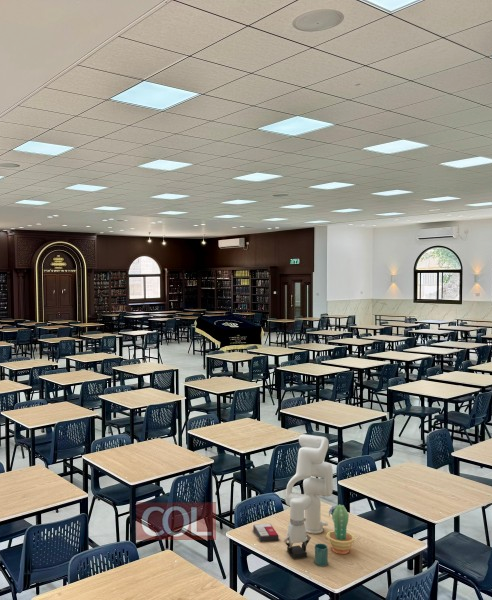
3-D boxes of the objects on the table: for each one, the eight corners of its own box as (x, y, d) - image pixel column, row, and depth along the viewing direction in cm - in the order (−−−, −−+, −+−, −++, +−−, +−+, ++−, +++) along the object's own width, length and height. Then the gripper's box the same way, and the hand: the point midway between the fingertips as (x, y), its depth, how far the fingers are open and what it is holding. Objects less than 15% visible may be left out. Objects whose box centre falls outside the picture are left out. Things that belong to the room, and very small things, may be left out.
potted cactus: (343, 541, 319) (343, 499, 319) (361, 553, 305) (361, 509, 304) (320, 546, 314) (320, 502, 313) (337, 558, 300) (337, 513, 299)
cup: (323, 559, 299) (323, 542, 299) (329, 565, 293) (329, 548, 293) (312, 560, 297) (312, 544, 297) (318, 566, 291) (318, 549, 291)
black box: (299, 549, 310) (299, 545, 310) (307, 557, 301) (307, 552, 301) (287, 551, 308) (287, 546, 308) (294, 559, 299) (294, 554, 299)
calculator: (260, 535, 319) (253, 523, 334) (260, 542, 320) (253, 530, 334) (278, 534, 321) (270, 522, 336) (278, 541, 321) (270, 529, 336)
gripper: (307, 516, 310) (307, 548, 310) (279, 520, 305) (279, 551, 306) (314, 522, 303) (314, 554, 303) (285, 526, 298) (285, 558, 299)
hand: (297, 552), depth 304 cm, fingers closed on black box, 7 cm apart
